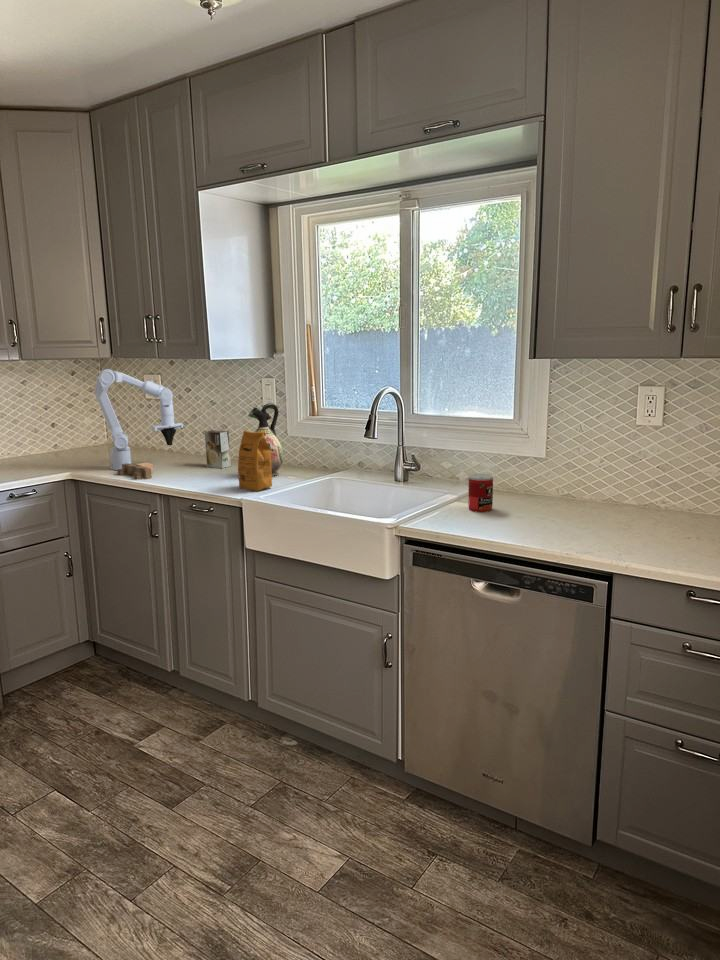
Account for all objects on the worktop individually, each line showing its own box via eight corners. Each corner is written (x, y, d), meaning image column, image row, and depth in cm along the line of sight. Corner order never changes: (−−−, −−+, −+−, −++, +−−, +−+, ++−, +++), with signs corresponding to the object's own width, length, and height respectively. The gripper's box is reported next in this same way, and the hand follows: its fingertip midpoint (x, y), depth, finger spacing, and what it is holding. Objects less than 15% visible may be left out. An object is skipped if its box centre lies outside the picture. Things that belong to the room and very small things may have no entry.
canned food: (480, 513, 218) (481, 479, 216) (463, 508, 224) (463, 475, 222) (497, 509, 222) (498, 476, 220) (479, 505, 229) (480, 472, 226)
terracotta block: (136, 474, 294) (135, 464, 293) (147, 472, 297) (146, 462, 296) (142, 476, 290) (141, 465, 289) (153, 474, 293) (152, 464, 292)
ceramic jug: (251, 480, 276) (247, 405, 269) (243, 473, 290) (239, 402, 284) (292, 476, 282) (289, 403, 276) (282, 470, 296) (279, 400, 290)
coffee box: (231, 466, 308) (229, 430, 305) (222, 468, 302) (220, 432, 299) (215, 464, 312) (213, 429, 309) (206, 467, 307) (203, 431, 303)
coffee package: (254, 484, 269) (251, 428, 265) (276, 488, 261) (273, 430, 257) (234, 488, 262) (231, 431, 257) (256, 492, 254) (252, 433, 249)
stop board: (115, 474, 294) (115, 465, 293) (127, 472, 298) (126, 463, 297) (139, 480, 281) (139, 470, 280) (151, 478, 285) (150, 468, 284)
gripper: (157, 417, 300) (159, 447, 302) (186, 414, 310) (188, 443, 313) (149, 416, 304) (151, 446, 307) (177, 413, 315) (179, 442, 317)
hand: (169, 445), depth 310 cm, fingers closed
